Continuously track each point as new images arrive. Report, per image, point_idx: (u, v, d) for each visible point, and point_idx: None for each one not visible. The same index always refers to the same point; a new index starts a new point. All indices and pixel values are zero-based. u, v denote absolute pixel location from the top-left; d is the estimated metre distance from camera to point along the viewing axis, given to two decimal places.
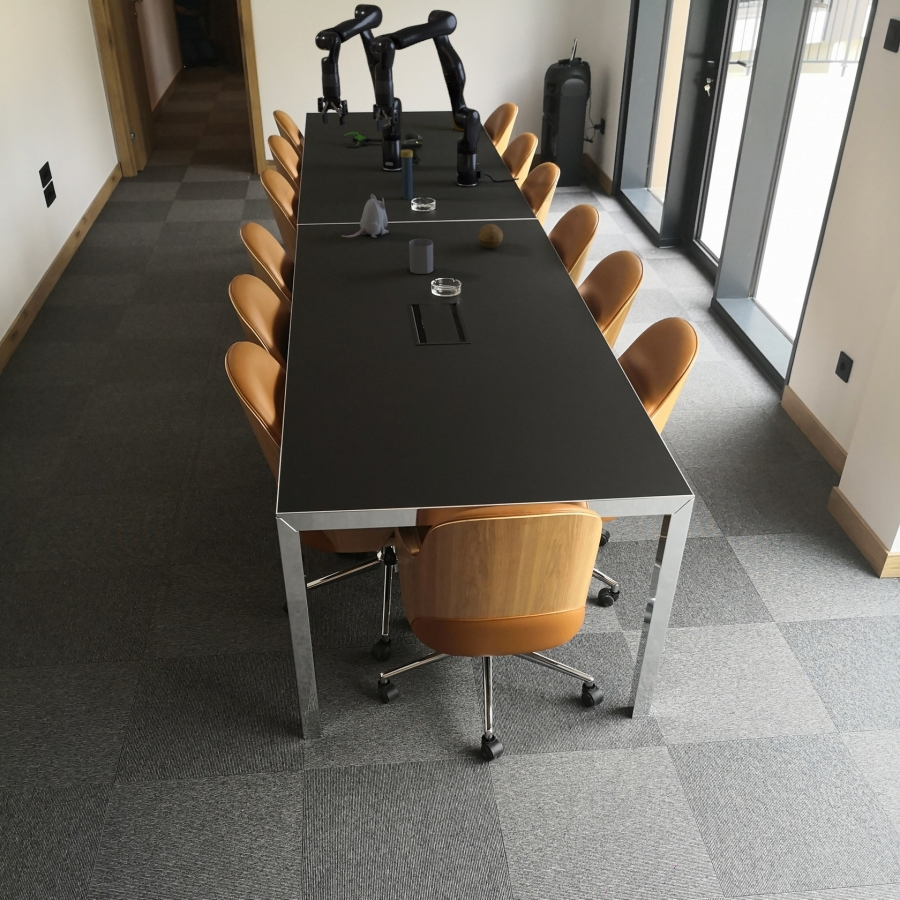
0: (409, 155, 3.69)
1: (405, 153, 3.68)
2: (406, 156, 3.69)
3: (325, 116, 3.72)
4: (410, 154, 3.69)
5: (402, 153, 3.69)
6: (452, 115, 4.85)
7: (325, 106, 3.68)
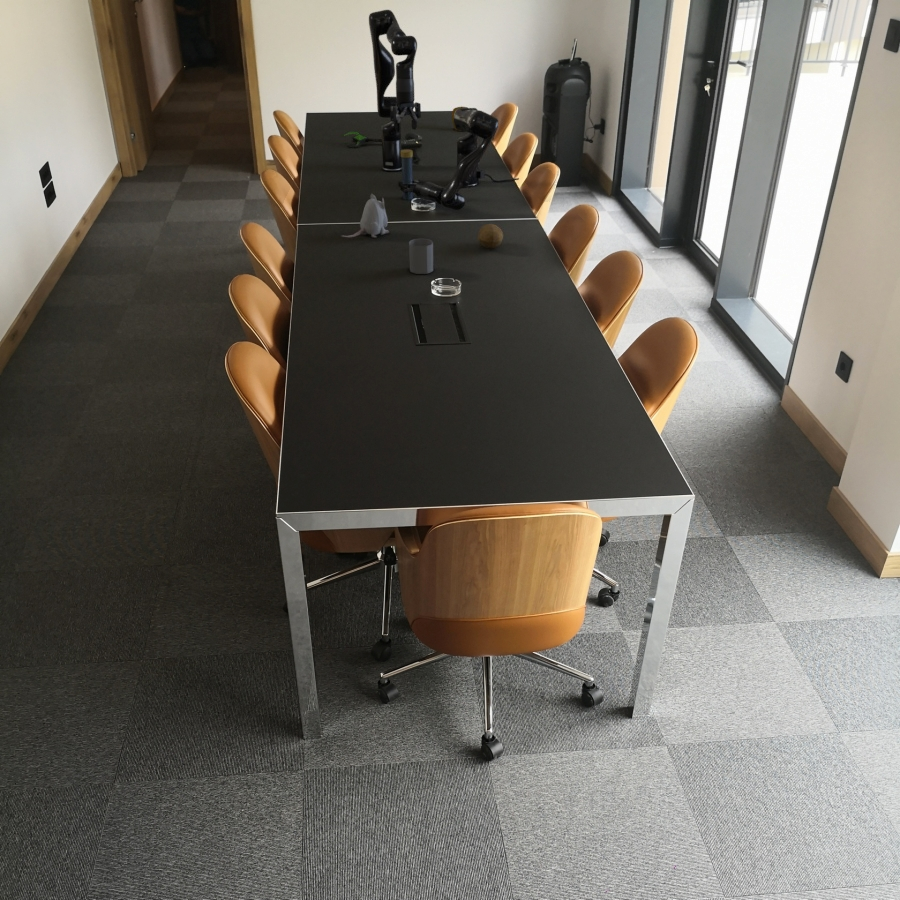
0: (409, 155, 3.69)
1: (405, 153, 3.68)
2: (406, 156, 3.69)
3: None
4: (410, 154, 3.69)
5: (402, 153, 3.69)
6: (452, 115, 4.85)
7: (403, 113, 3.59)
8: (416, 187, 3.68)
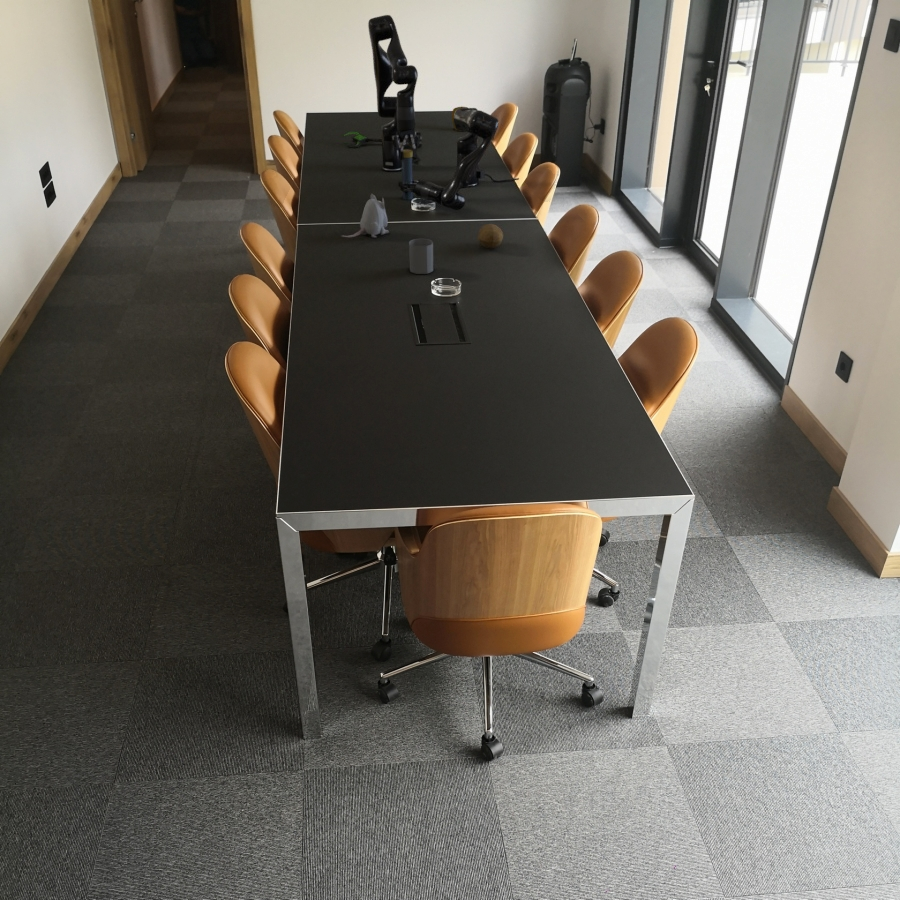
0: (409, 155, 3.69)
1: (405, 153, 3.68)
2: (406, 156, 3.69)
3: None
4: (410, 154, 3.69)
5: None
6: (452, 115, 4.85)
7: (404, 141, 3.66)
8: (416, 187, 3.68)
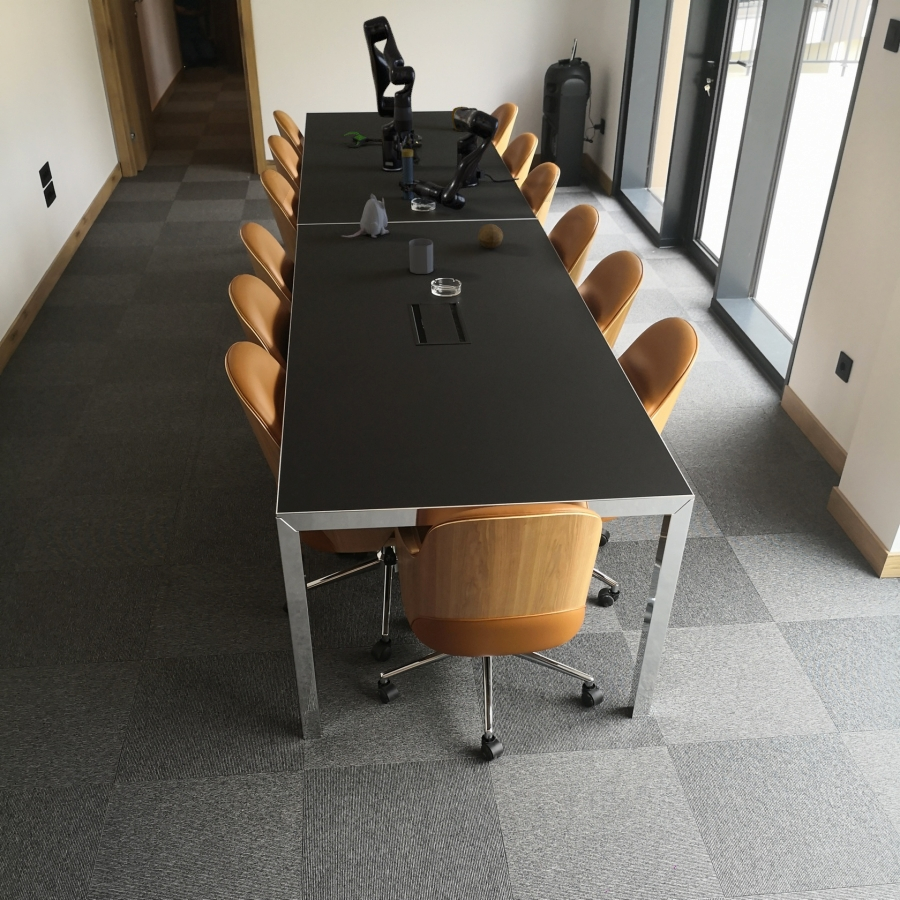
0: None
1: (412, 152, 3.69)
2: (412, 154, 3.70)
3: None
4: None
5: (409, 153, 3.69)
6: (452, 115, 4.85)
7: (404, 141, 3.65)
8: (416, 187, 3.68)
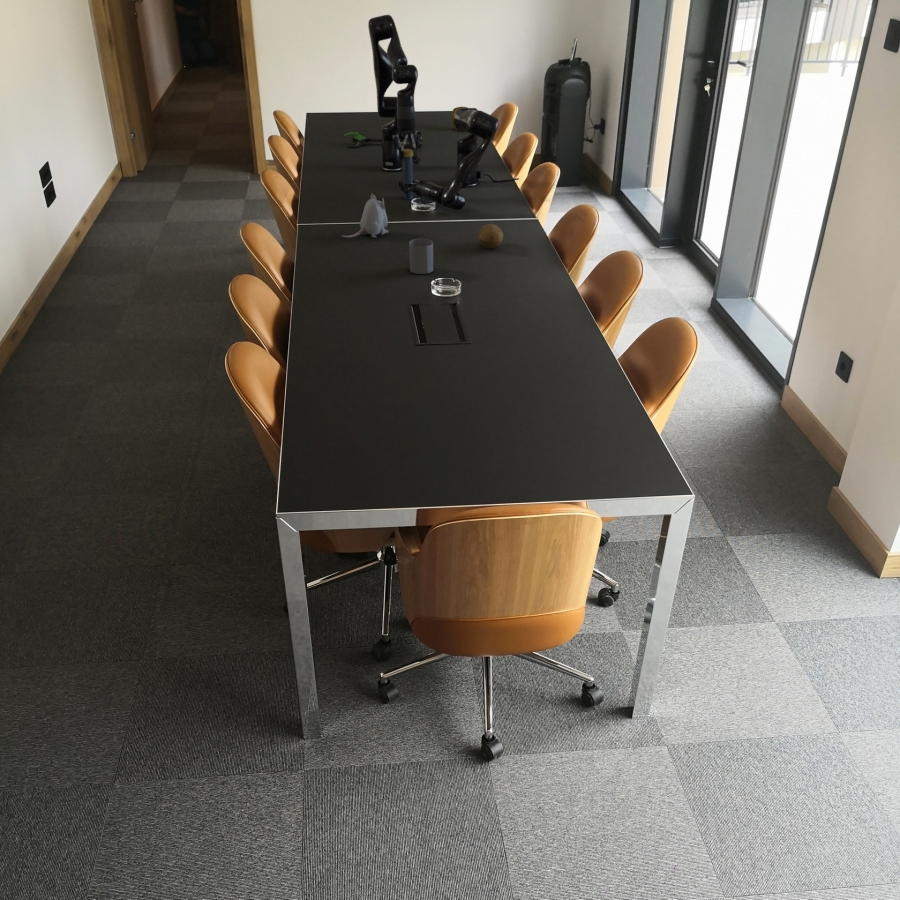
0: None
1: (412, 152, 3.69)
2: (412, 155, 3.70)
3: None
4: None
5: (409, 153, 3.69)
6: (452, 115, 4.85)
7: (405, 140, 3.66)
8: (416, 187, 3.68)
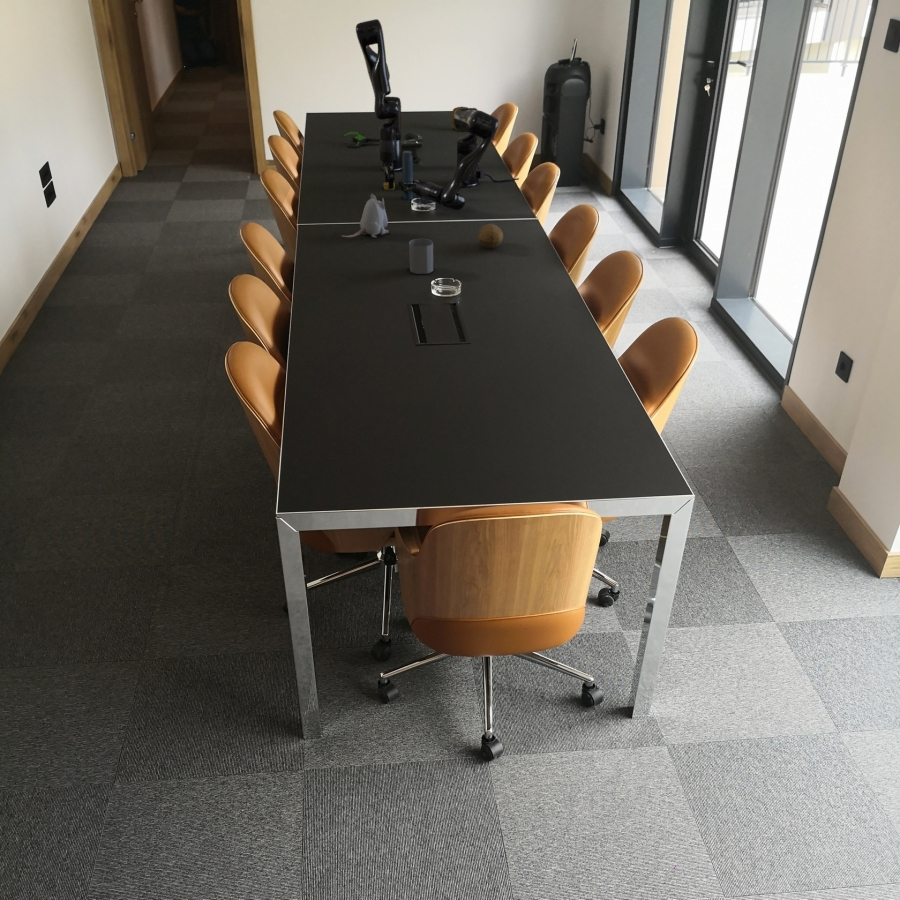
0: None
1: None
2: None
3: None
4: None
5: (394, 184, 3.93)
6: (452, 115, 4.85)
7: None
8: (416, 187, 3.68)
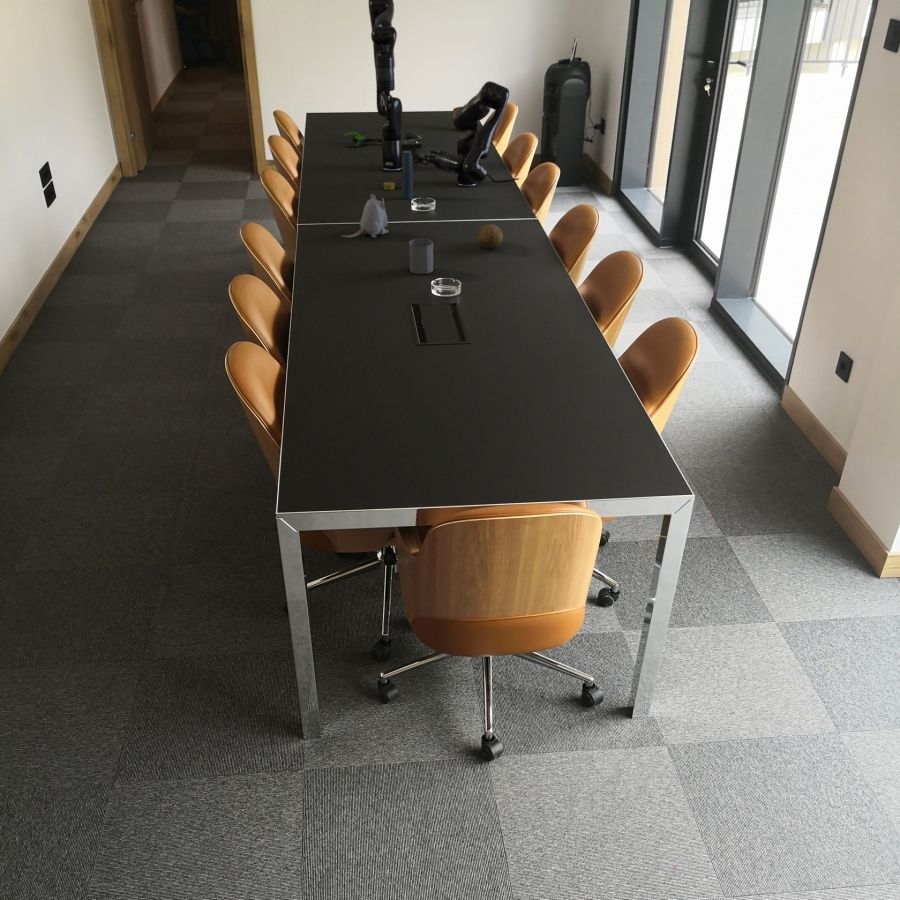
0: None
1: None
2: None
3: None
4: None
5: (394, 184, 3.93)
6: (452, 115, 4.85)
7: None
8: (436, 158, 3.52)
